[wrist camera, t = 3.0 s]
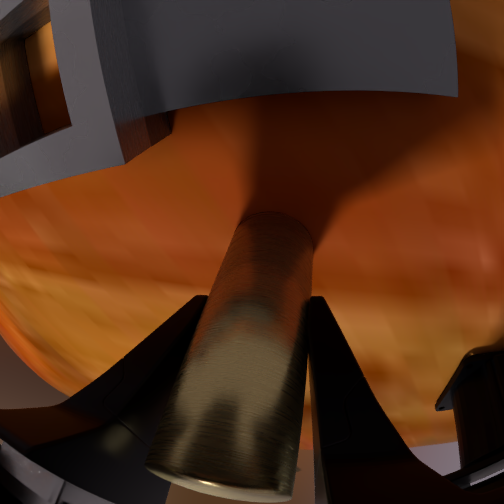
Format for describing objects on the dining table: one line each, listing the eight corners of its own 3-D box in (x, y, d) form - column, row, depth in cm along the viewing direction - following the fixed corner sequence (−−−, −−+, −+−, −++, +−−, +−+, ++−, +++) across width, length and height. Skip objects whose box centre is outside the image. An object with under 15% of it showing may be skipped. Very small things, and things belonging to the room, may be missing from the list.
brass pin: (314, 278, 13) (294, 505, 6) (240, 279, 14) (174, 486, 6) (311, 210, 11) (288, 483, 4) (226, 214, 12) (117, 448, 5)
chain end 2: (437, 119, 8) (457, 130, 7) (35, 169, 12) (13, 184, 11) (405, -87, 4) (418, -104, 2) (3, 29, 8) (-21, 33, 6)
